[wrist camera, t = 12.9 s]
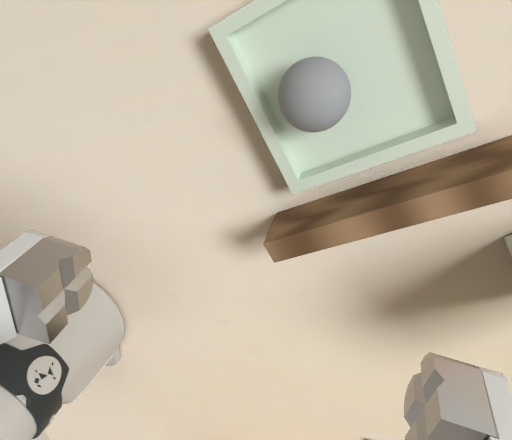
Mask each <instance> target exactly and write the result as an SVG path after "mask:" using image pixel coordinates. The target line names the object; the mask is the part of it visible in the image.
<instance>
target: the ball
mask: <svg viewBox="0 0 512 440" xmlns="http://www.w3.org/2000/svg"><path fill="white" fill-rule="evenodd" d="M350 100H351V86H350V82H349V79H348V76H347V75H346V73H345V71H344V70H343V69H342V68H341V67H340V66H339V65H338V64H337V63H335V62H334V61H332V60H330V59H327V58H324V57H308V58H304V59H302V60H299V61H298V62H296V63H295V64H293V65H292V66H291V67H290V68H289V69H288V70H287V71H286V72H285V74H284V76H283V77H282V79H281V82H280V84H279V88H278V104H279V107H280V110H281V113H282V115H283V116H284V118H285V119H286V120H287V121H288V122H289V123H290V124H291V125H292V126H294V127H295V128H297V129H299V130H301V131H305V132H321V131H325V130H327V129H329V128H331V127H333V126H334V125H336V124H337V123H338V122H339V121H340V120H341V119H342V118H343V116H344V115H345V113H346V112H347V110H348V107H349V104H350Z"/></svg>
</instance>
